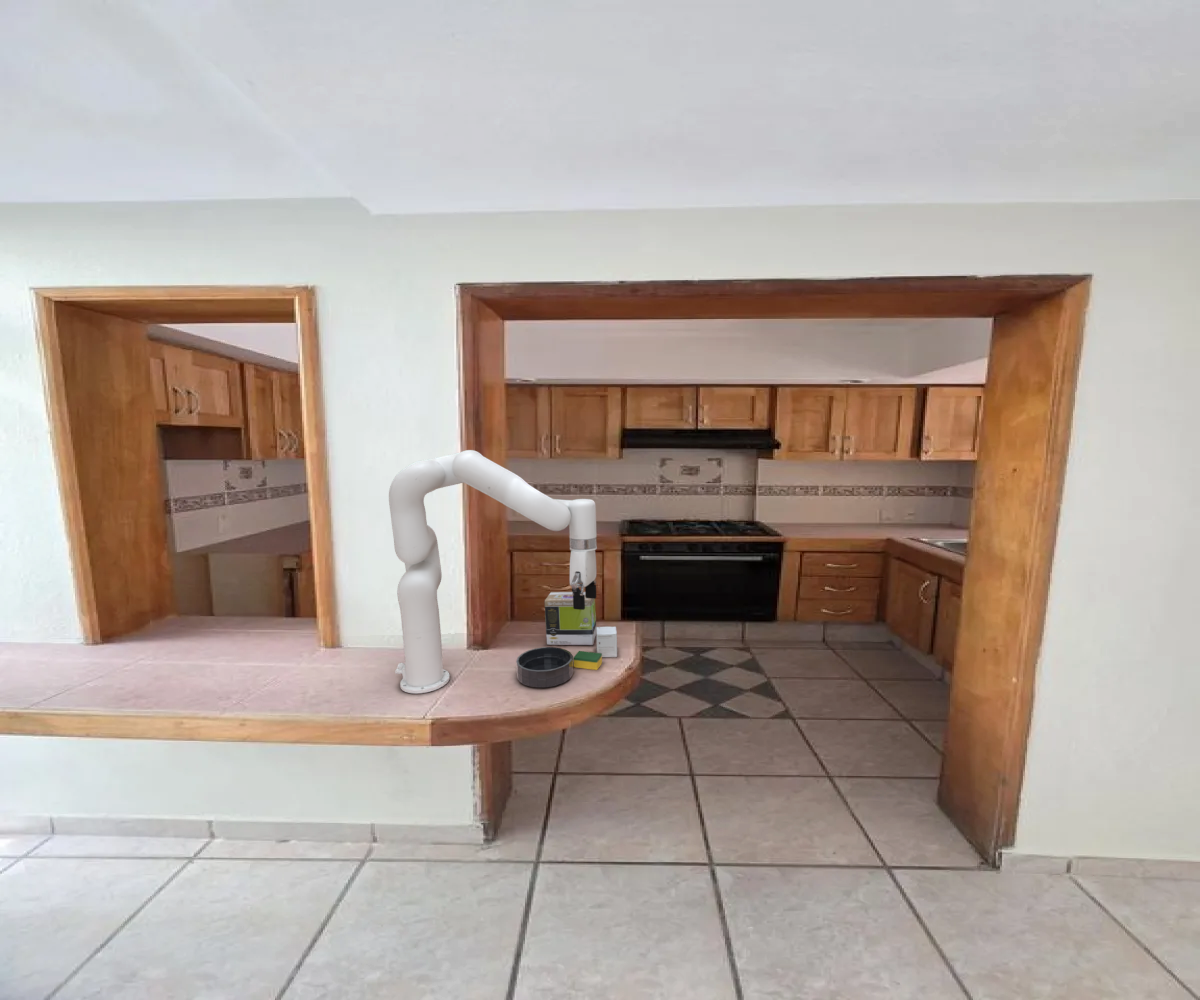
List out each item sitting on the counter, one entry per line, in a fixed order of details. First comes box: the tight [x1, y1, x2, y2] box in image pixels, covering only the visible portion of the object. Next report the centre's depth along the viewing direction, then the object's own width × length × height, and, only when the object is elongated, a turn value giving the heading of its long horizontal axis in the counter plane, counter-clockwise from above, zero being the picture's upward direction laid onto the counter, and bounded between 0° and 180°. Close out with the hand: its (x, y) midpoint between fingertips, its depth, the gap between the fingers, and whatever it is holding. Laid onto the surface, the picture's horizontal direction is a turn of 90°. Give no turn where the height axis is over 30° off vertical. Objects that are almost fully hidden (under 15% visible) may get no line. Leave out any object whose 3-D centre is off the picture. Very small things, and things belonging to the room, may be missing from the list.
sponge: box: [573, 650, 603, 671], centre depth 142 cm, size 7×4×3 cm, turn 72°
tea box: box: [544, 591, 597, 646], centre depth 160 cm, size 15×10×15 cm, turn 84°
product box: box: [595, 626, 618, 658], centre depth 149 cm, size 6×6×7 cm
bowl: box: [515, 646, 574, 689], centre depth 136 cm, size 15×15×5 cm
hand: (585, 603), depth 140 cm, fingers open, 9 cm apart
